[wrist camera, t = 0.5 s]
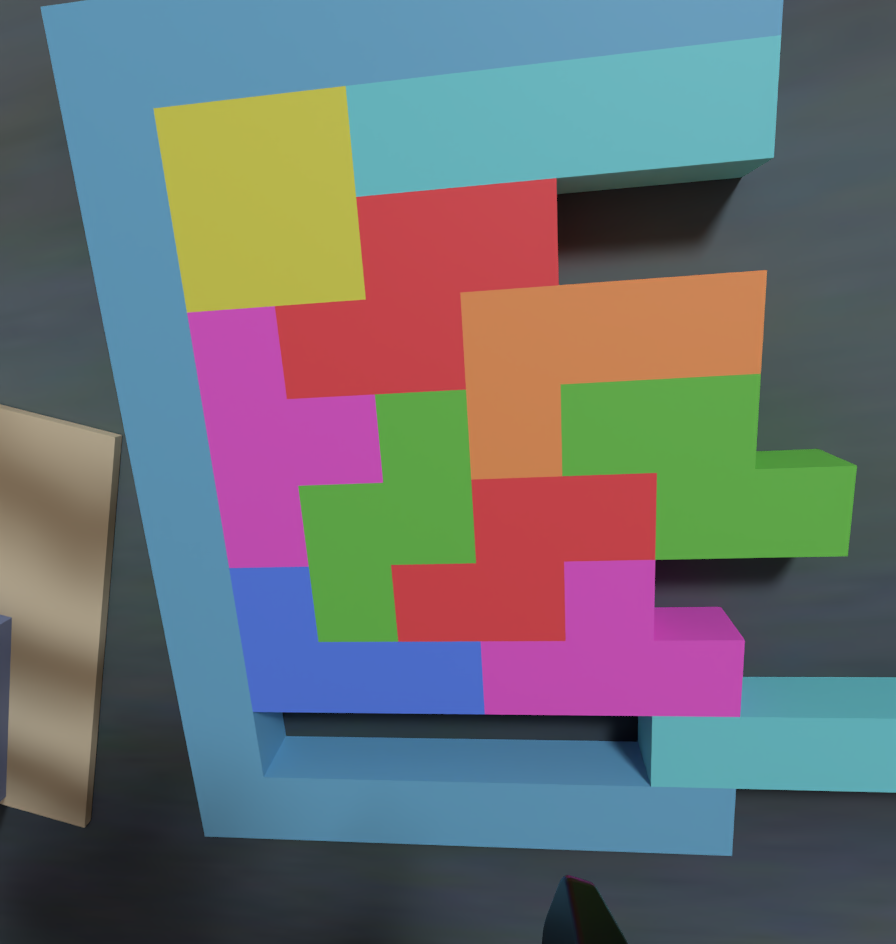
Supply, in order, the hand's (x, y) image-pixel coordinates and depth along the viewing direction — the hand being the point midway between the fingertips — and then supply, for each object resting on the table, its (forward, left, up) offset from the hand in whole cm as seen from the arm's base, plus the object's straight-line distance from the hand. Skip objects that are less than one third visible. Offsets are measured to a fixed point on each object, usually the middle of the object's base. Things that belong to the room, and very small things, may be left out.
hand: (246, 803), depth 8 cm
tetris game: (+3, -5, -14) cm, 15 cm away
